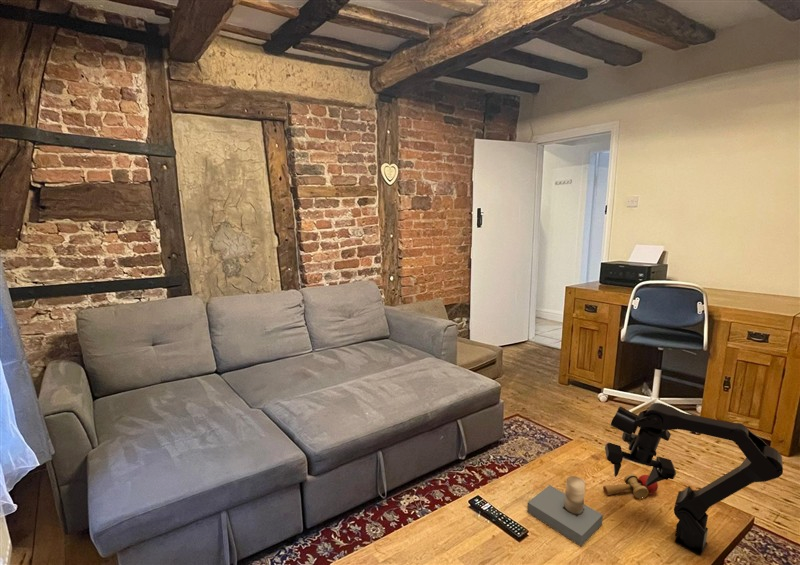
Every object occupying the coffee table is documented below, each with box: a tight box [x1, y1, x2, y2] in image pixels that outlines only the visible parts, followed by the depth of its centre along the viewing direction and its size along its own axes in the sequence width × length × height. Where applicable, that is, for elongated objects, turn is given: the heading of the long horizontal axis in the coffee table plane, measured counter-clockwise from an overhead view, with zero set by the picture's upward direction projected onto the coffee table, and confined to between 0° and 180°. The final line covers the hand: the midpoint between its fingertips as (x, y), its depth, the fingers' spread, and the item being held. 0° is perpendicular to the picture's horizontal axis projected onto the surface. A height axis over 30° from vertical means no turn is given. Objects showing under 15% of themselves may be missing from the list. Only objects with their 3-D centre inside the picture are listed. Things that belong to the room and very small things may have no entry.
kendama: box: [602, 473, 659, 499], centre depth 143 cm, size 8×6×18 cm
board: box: [526, 484, 604, 547], centre depth 131 cm, size 18×13×4 cm
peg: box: [564, 475, 586, 516], centre depth 130 cm, size 6×6×12 cm
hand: (630, 480), depth 132 cm, fingers open, 9 cm apart
